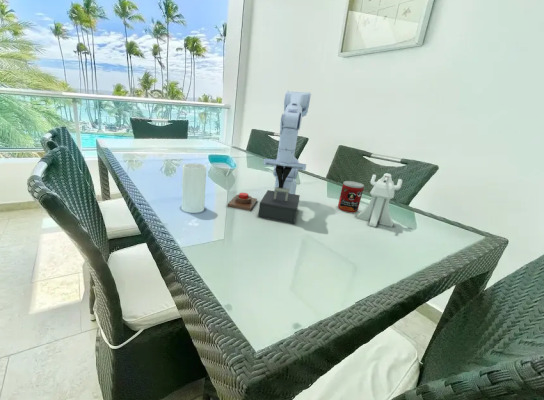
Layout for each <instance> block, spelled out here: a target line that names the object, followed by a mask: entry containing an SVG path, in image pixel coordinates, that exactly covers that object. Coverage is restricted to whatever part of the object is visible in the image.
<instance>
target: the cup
mask: <svg viewBox="0 0 544 400" xmlns="http://www.w3.org/2000/svg"><path fill="white" fill-rule="evenodd" d="M181 174H182V175H181V177H182V178H181V179H182V180H181V210H182V211H183V212H185V213H190V214H197V213H202V212H204V210H205V201H206V185H207V164H203V163H196V162H189V163H183V164H182V173H181Z"/></svg>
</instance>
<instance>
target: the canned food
mask: <svg viewBox="0 0 544 400" xmlns="http://www.w3.org/2000/svg"><path fill="white" fill-rule="evenodd" d="M364 187H365V185H364V184H363V183H361V182H358V181H351V180H345V181H343V183H342V187H341V190H340V195H339V198H338V199H339V200H338V204H337V208H338V209H339V210H340V211H342V212H345V213H351V214H354V213H357V212H358V210H359V209H360V204H361V199H362V196H363V192H364Z"/></svg>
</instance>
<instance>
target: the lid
mask: <svg viewBox="0 0 544 400" xmlns="http://www.w3.org/2000/svg"><path fill="white" fill-rule="evenodd" d="M274 188H275V191H274V190H272V189H271V190H270V189H267V190H266V192H265V194H264V196H263V197H262V199H261V200H260V201H259V206H260V205H266V206H272V207H277V208H283V209H288V210H294V211H297V212H298V208H297V206H298V207H299V203H298V202H299V201H300V197H301V196H300V194H296V193H295V194H289V189H287V188H279V187H275V186H274Z"/></svg>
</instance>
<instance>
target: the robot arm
mask: <svg viewBox="0 0 544 400" xmlns="http://www.w3.org/2000/svg"><path fill="white" fill-rule="evenodd" d="M311 96H312V93H311V92H310V91H308V92H307V91H304V92H303V91H289V90H287V91H285V94H284V101H283V112H284V113H282V114H281V117H280V121H279V139H278V141H279V142H278V149H277V153H276V158H275V159H272V158H264V159H263V163H262V165H263V166H271V167H273V171H272V175H273V178H275V180H274V189H273V191H275V187H279V188H287V189H289V194H295V195H296V191H297V180H296V179H297V178H298V172H299V170H300V171H304V172H305V171H306V168H307V163H302V162H299V160H298V158H296V157H295V153H296V148H297V141H298V135H299V131H300V129H301V125H302V119H303V117H306V116H307V114H308V112H309V107H310V102H311Z"/></svg>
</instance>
